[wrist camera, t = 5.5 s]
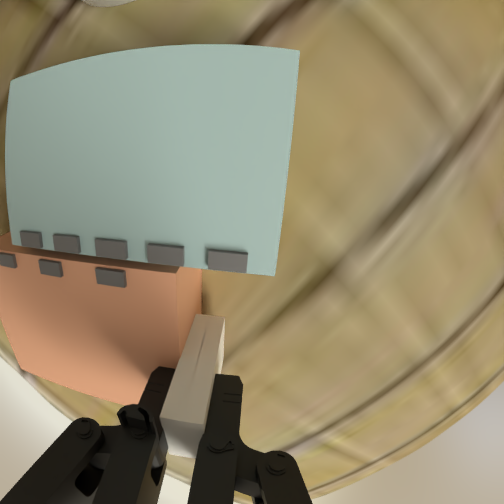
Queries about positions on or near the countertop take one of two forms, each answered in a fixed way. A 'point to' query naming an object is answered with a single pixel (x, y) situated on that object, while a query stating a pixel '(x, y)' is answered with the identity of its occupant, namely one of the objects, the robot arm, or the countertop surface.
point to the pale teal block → (155, 155)
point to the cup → (106, 2)
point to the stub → (95, 318)
